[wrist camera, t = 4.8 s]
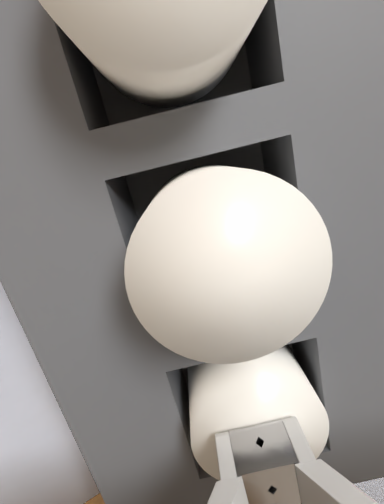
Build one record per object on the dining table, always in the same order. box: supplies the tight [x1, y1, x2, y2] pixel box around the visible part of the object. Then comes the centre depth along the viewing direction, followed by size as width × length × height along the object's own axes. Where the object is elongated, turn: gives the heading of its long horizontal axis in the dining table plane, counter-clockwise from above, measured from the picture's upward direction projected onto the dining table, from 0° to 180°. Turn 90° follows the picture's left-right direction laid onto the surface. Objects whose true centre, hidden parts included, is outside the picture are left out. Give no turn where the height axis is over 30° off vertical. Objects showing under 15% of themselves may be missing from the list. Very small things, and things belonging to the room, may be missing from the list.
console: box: [0, 0, 384, 504], centre depth 11 cm, size 14×24×4 cm, turn 13°
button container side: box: [187, 344, 329, 481], centre depth 13 cm, size 5×5×4 cm
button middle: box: [124, 165, 333, 364], centre depth 9 cm, size 5×5×4 cm
